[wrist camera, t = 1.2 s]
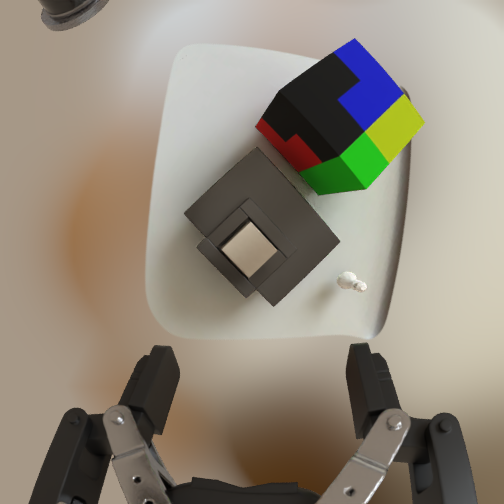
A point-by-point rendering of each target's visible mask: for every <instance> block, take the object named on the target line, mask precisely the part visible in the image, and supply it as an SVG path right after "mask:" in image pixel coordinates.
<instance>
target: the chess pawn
mask: <svg viewBox="0 0 504 504" xmlns="http://www.w3.org/2000/svg"><path fill="white" fill-rule="evenodd" d="M337 284H338V285H339V286H340V287H341V288H344V289H349V288H352V289H354V290H356V291H358V292H364V291H365V290H366V289H367V285H366V284H365V283H364V282H361V281H359V280H357V278H356V276H355V275H354V274H353V273H351V272H344V273H341V274H340V275H339V276H338V278H337Z"/></svg>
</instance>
